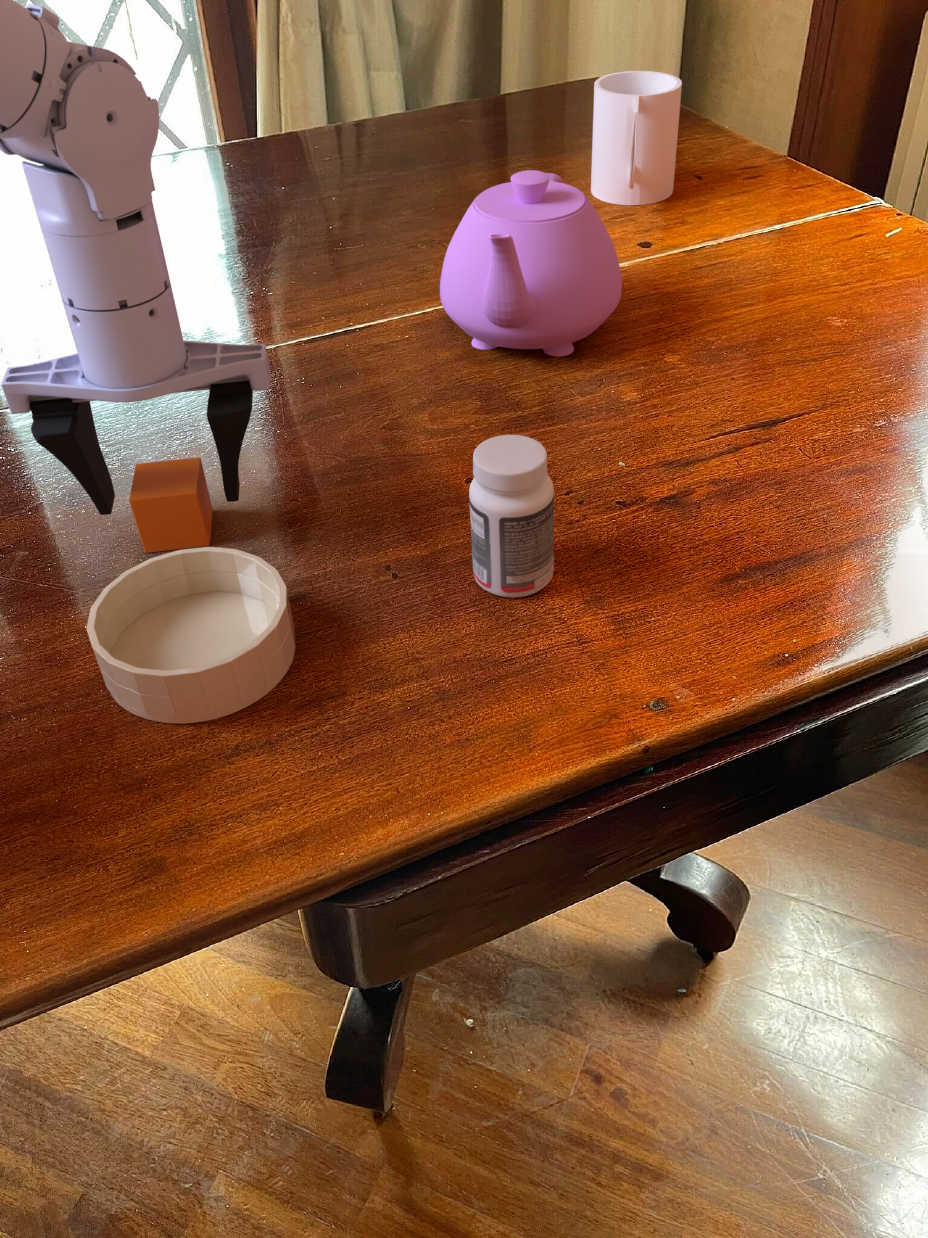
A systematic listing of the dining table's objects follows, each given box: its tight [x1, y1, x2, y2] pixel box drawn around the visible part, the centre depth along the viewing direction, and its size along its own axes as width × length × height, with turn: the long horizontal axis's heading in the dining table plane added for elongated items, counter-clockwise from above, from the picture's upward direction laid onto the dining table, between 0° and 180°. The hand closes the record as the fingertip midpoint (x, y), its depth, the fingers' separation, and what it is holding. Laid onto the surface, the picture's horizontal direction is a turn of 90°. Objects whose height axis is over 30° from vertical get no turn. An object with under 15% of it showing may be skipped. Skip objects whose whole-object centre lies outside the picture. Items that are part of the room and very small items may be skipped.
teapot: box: [439, 169, 623, 357], centre depth 83 cm, size 20×14×12 cm
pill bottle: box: [468, 434, 555, 599], centre depth 62 cm, size 5×5×8 cm
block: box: [128, 456, 214, 554], centre depth 68 cm, size 4×4×4 cm
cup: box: [590, 70, 683, 206], centre depth 105 cm, size 8×12×10 cm
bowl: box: [86, 546, 297, 725], centre depth 59 cm, size 10×10×4 cm
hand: (170, 498), depth 67 cm, fingers open, 7 cm apart
